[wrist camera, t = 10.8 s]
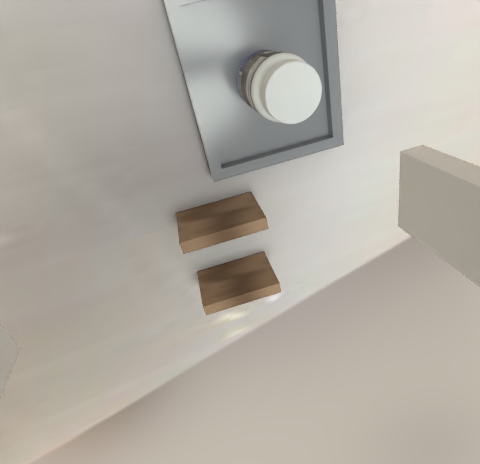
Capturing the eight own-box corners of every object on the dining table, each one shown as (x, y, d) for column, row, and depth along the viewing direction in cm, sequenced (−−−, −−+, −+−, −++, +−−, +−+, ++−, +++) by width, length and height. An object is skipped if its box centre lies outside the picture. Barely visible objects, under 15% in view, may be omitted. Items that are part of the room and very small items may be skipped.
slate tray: (211, 174, 35) (213, 181, 33) (161, -5, 27) (162, -7, 25) (334, 139, 36) (343, 144, 34) (321, -44, 28) (332, -49, 26)
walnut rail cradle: (200, 279, 41) (206, 315, 36) (176, 213, 36) (179, 243, 31) (265, 259, 41) (281, 291, 36) (250, 191, 36) (266, 217, 31)
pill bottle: (298, 67, 30) (341, 77, 23) (271, 117, 32) (304, 141, 25) (252, 37, 29) (283, 38, 21) (225, 92, 30) (247, 110, 23)
